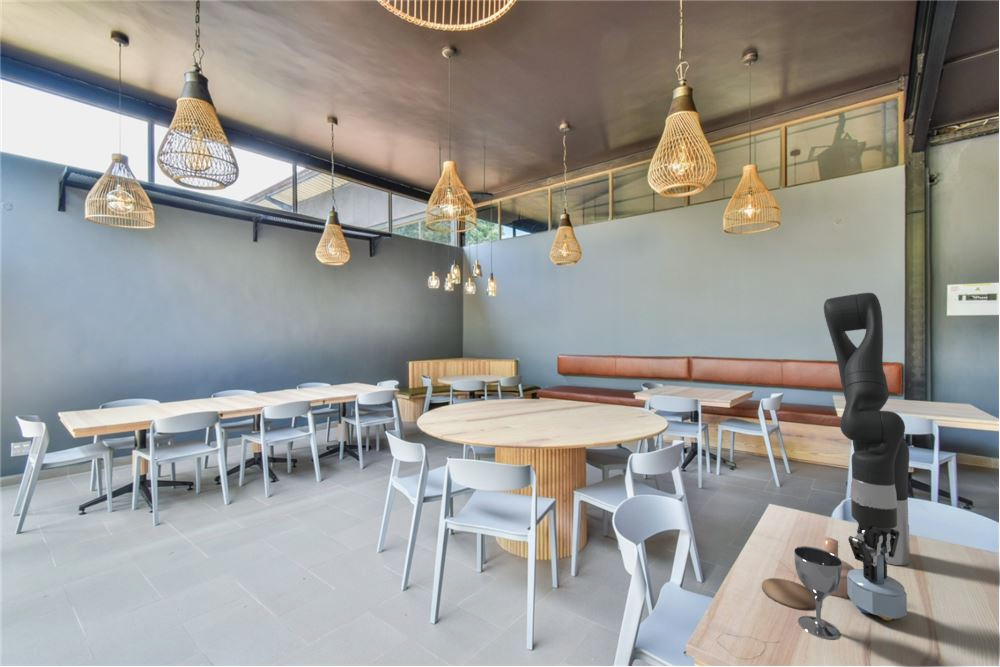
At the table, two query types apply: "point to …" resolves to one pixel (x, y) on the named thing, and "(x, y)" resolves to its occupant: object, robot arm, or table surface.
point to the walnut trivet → (788, 593)
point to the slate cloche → (877, 592)
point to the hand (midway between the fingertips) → (875, 578)
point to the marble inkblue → (862, 610)
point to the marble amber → (885, 618)
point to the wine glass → (818, 586)
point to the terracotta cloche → (832, 547)
